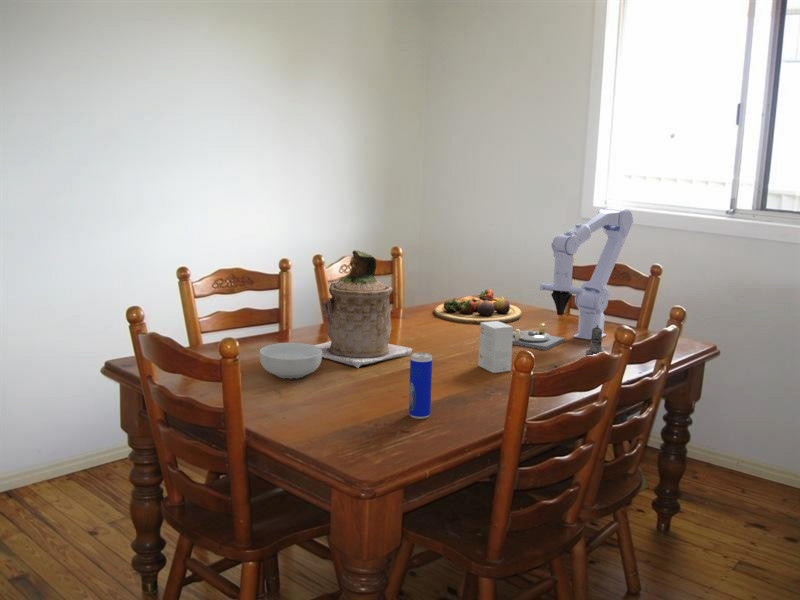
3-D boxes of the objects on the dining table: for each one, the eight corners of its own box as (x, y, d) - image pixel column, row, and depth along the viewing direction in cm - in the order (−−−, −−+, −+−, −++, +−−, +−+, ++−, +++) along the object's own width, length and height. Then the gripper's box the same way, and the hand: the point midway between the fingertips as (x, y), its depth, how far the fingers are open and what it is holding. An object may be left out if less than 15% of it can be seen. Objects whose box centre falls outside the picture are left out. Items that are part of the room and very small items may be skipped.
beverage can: (407, 412, 205) (409, 352, 201) (429, 412, 205) (431, 352, 202) (409, 419, 200) (411, 357, 196) (431, 419, 200) (433, 358, 197)
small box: (511, 371, 241) (513, 326, 238) (492, 373, 238) (494, 328, 236) (496, 363, 248) (498, 320, 245) (477, 366, 245) (479, 322, 243)
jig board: (519, 333, 284) (520, 319, 283) (564, 341, 275) (565, 327, 274) (500, 342, 273) (500, 327, 272) (545, 350, 264) (546, 335, 263)
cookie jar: (415, 354, 256) (418, 249, 250) (357, 370, 238) (358, 257, 232) (358, 339, 272) (360, 240, 266) (299, 352, 255) (299, 247, 248)
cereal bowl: (271, 387, 221) (271, 361, 220) (251, 370, 236) (251, 345, 234) (331, 379, 229) (331, 354, 228) (308, 363, 243) (308, 339, 242)
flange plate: (519, 330, 282) (520, 319, 282) (555, 337, 275) (556, 325, 275) (504, 337, 274) (504, 325, 273) (540, 343, 266) (541, 331, 266)
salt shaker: (605, 367, 247) (608, 327, 244) (584, 366, 248) (587, 326, 246) (604, 362, 252) (607, 323, 250) (584, 360, 254) (587, 321, 251)
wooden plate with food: (463, 302, 334) (464, 281, 332) (536, 313, 316) (537, 292, 314) (417, 317, 309) (417, 295, 307) (493, 330, 290) (494, 307, 289)
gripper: (536, 271, 269) (534, 313, 272) (579, 277, 261) (576, 320, 264) (546, 269, 275) (543, 309, 278) (588, 274, 267) (585, 316, 270)
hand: (560, 314), depth 271 cm, fingers closed
